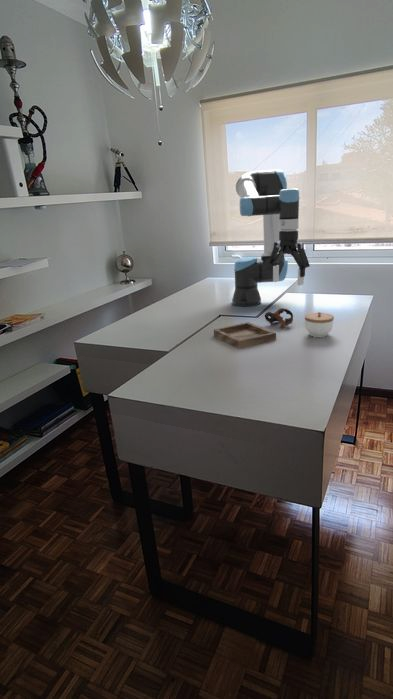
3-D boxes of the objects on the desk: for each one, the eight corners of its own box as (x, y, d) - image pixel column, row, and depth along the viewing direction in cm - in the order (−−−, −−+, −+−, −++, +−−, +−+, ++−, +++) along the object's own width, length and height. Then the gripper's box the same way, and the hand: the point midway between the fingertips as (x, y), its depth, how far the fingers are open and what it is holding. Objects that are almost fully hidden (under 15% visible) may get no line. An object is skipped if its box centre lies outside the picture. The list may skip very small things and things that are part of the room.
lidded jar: (334, 339, 159) (335, 315, 156) (304, 339, 161) (305, 315, 158) (331, 331, 169) (332, 308, 165) (303, 330, 171) (304, 308, 168)
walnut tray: (213, 336, 171) (213, 329, 170) (248, 328, 178) (248, 322, 177) (239, 348, 155) (239, 341, 154) (276, 339, 162) (276, 332, 161)
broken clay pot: (287, 321, 186) (294, 308, 180) (289, 336, 179) (296, 323, 174) (261, 316, 185) (267, 303, 179) (262, 331, 178) (268, 317, 172)
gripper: (259, 230, 175) (260, 280, 182) (307, 231, 156) (305, 288, 163) (272, 228, 179) (272, 278, 186) (320, 229, 160) (317, 285, 167)
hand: (287, 282), depth 174 cm, fingers open, 13 cm apart
